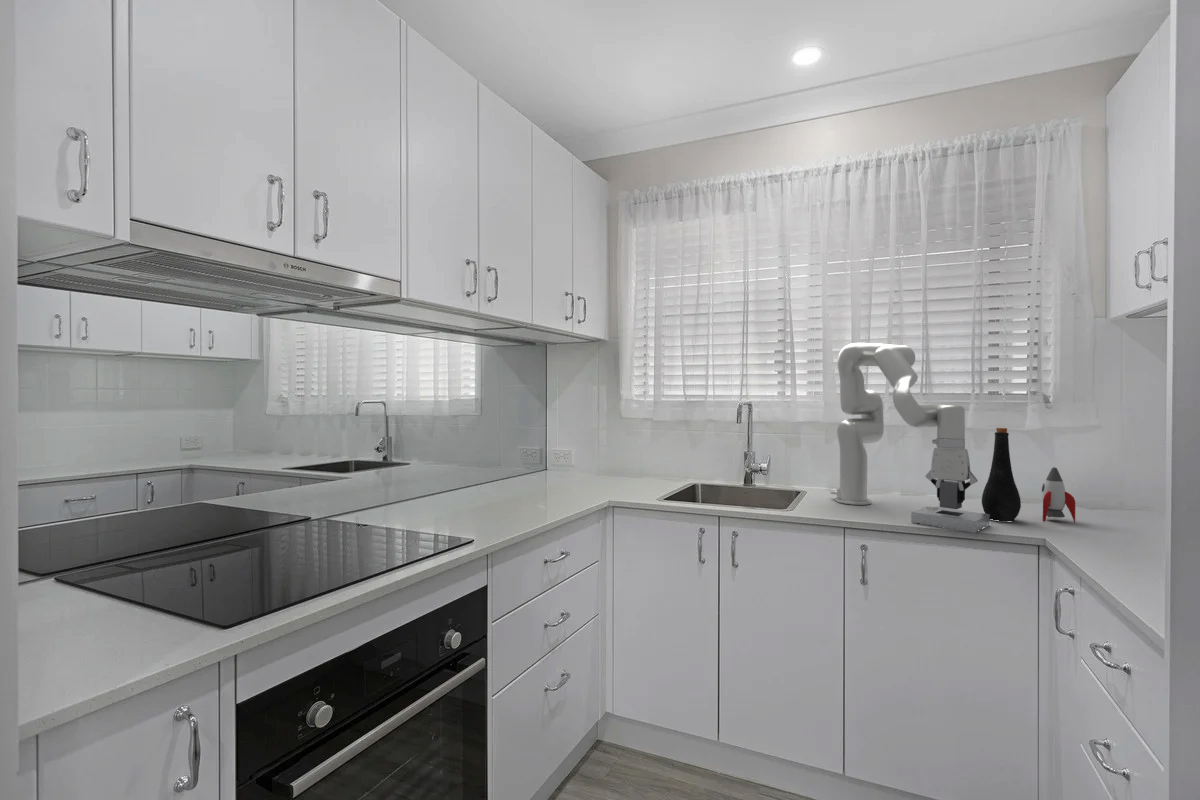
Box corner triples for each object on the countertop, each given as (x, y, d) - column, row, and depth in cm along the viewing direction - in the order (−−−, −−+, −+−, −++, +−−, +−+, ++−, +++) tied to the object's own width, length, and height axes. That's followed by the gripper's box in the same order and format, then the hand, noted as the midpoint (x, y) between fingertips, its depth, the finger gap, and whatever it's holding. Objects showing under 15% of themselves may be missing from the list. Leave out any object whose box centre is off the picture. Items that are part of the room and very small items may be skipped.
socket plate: (911, 522, 188) (911, 509, 188) (927, 516, 198) (927, 503, 198) (975, 532, 175) (975, 518, 175) (989, 525, 184) (989, 511, 184)
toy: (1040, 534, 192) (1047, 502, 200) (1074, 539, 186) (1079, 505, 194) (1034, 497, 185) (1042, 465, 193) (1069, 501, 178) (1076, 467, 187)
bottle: (1020, 525, 185) (1021, 429, 184) (980, 520, 191) (980, 428, 191) (1021, 519, 193) (1022, 427, 193) (982, 514, 200) (983, 426, 199)
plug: (939, 507, 186) (939, 482, 186) (947, 504, 191) (947, 479, 191) (956, 509, 183) (956, 483, 182) (964, 506, 187) (964, 481, 187)
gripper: (917, 443, 190) (917, 499, 190) (977, 446, 177) (977, 506, 177) (926, 441, 195) (926, 496, 195) (985, 444, 182) (985, 503, 182)
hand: (950, 500), depth 186 cm, fingers closed on plug, 4 cm apart
